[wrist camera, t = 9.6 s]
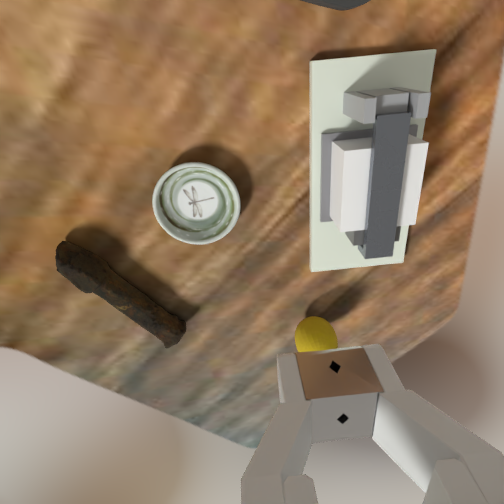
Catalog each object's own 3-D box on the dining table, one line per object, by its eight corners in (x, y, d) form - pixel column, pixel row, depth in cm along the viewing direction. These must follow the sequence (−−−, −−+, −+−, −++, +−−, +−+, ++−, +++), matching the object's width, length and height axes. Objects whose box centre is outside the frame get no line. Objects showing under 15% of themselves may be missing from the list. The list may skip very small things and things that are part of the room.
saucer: (253, 215, 42) (254, 224, 40) (183, 247, 43) (181, 257, 41) (215, 141, 37) (214, 146, 35) (139, 180, 39) (134, 187, 37)
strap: (367, 112, 32) (377, 115, 30) (399, 109, 32) (411, 112, 30) (357, 248, 39) (365, 259, 37) (383, 245, 39) (392, 256, 37)
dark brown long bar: (190, 319, 49) (186, 342, 45) (169, 333, 50) (164, 357, 46) (79, 225, 41) (64, 243, 37) (58, 244, 42) (40, 264, 38)
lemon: (294, 338, 52) (305, 381, 45) (287, 310, 49) (297, 352, 42) (331, 329, 51) (347, 372, 44) (325, 301, 49) (342, 341, 42)
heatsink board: (309, 61, 34) (328, 62, 28) (431, 49, 34) (476, 47, 28) (309, 267, 46) (322, 301, 39) (399, 258, 46) (426, 290, 40)
